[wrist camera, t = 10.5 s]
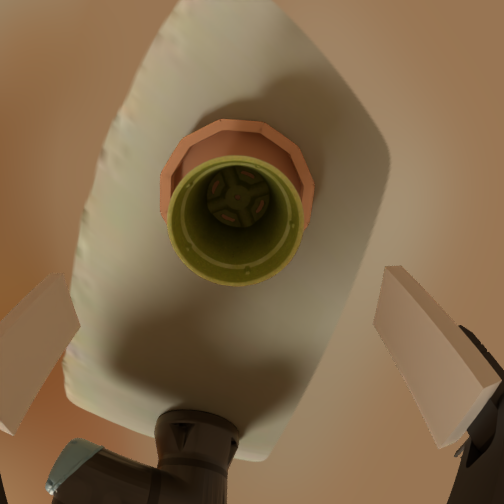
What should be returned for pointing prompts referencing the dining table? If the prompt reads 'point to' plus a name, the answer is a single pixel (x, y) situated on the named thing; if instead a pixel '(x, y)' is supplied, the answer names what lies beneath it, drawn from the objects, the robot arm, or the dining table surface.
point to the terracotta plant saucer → (238, 143)
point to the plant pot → (246, 220)
